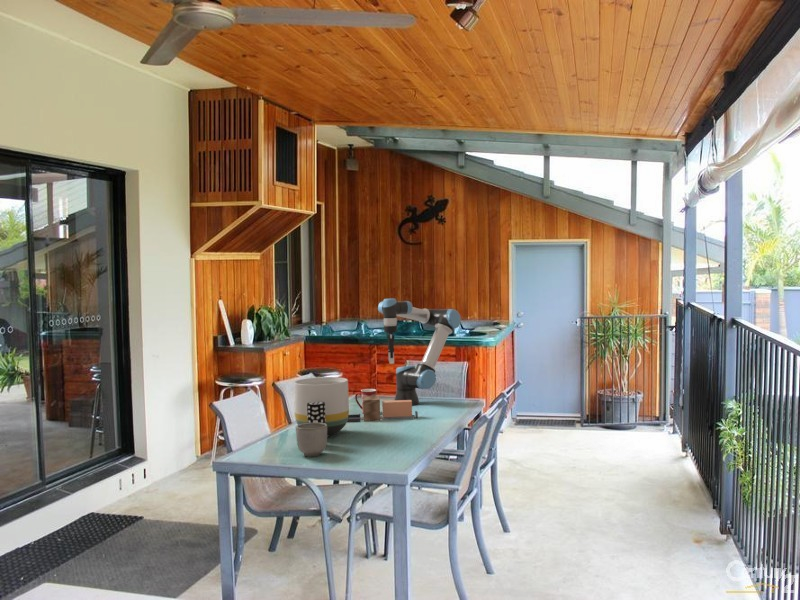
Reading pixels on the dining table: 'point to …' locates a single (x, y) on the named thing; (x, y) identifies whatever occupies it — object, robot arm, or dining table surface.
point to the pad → (397, 419)
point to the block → (397, 408)
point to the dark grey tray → (354, 418)
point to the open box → (371, 408)
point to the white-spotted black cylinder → (316, 412)
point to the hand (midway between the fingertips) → (391, 362)
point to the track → (397, 417)
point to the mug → (365, 395)
